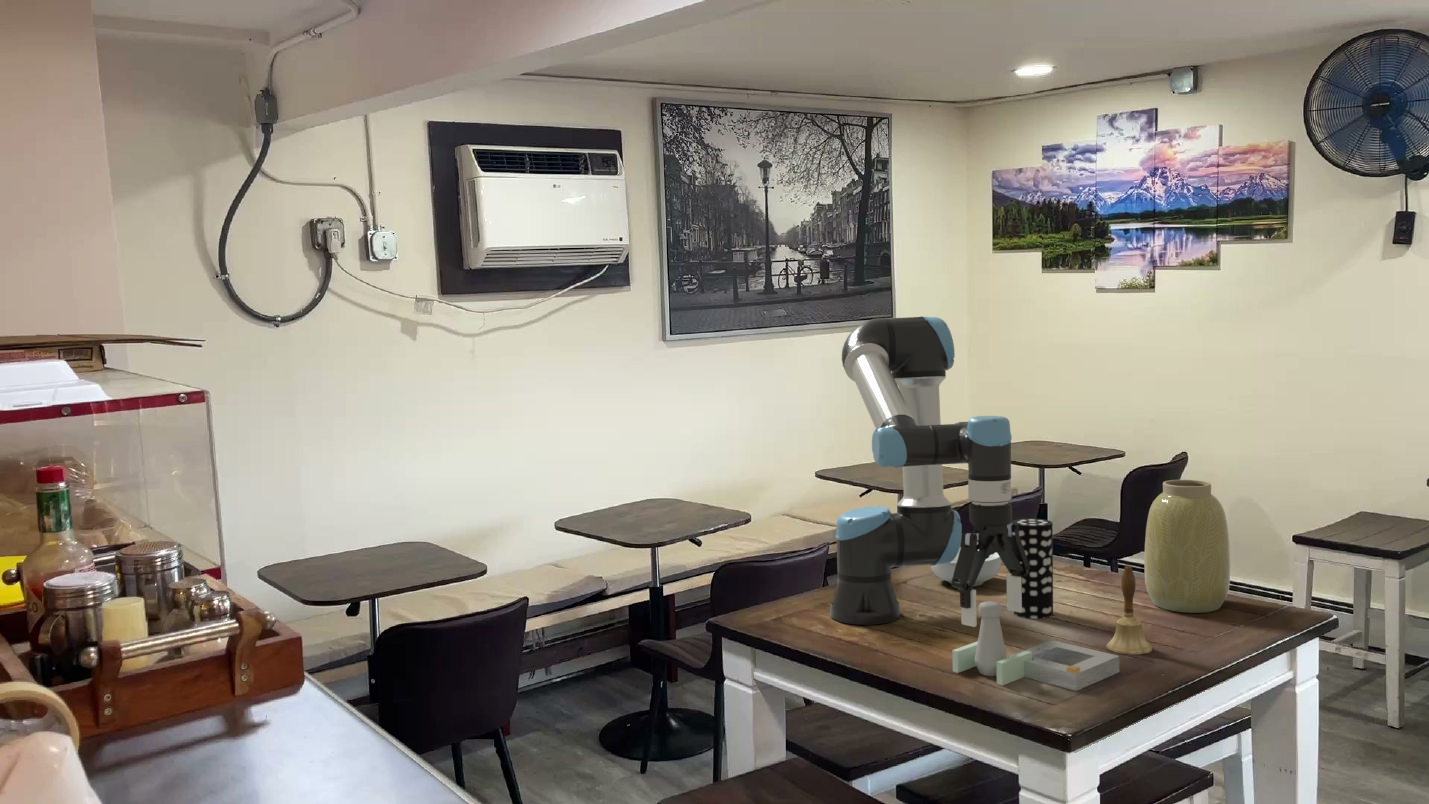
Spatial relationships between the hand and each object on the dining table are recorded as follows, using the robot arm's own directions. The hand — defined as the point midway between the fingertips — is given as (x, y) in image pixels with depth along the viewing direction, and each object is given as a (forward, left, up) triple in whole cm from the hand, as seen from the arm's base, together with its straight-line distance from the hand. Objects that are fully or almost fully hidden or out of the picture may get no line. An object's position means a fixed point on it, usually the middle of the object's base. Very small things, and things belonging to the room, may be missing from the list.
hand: (992, 618), depth 203 cm
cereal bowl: (-44, +50, -11) cm, 68 cm away
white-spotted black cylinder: (-17, +38, -11) cm, 43 cm away
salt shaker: (0, 0, -11) cm, 11 cm away
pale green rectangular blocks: (0, 0, -10) cm, 10 cm away
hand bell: (+10, +30, -11) cm, 33 cm away
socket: (+9, +9, -10) cm, 16 cm away
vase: (+3, +66, -11) cm, 67 cm away
